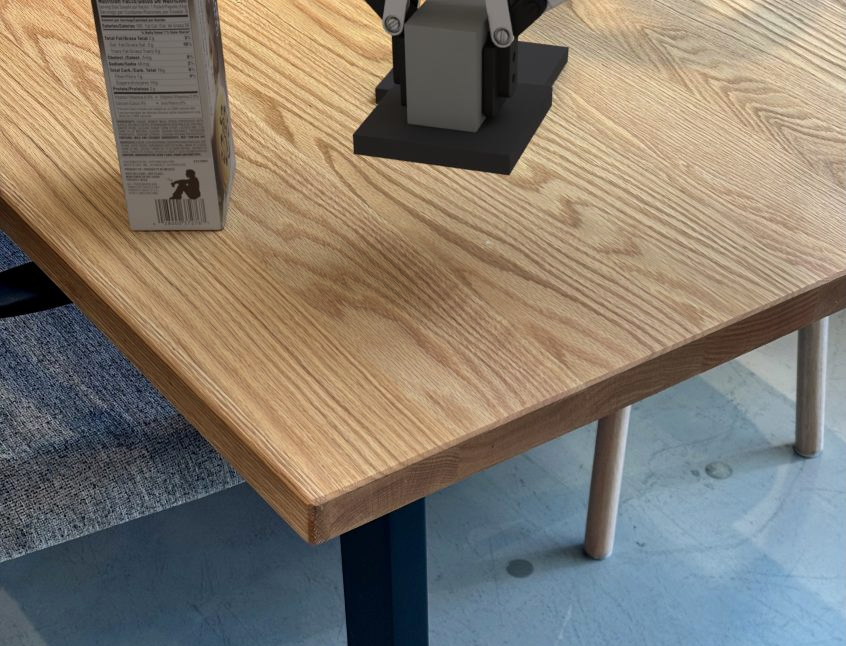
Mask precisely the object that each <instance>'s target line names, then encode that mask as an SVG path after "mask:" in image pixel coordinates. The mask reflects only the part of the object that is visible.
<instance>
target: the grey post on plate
mask: <svg viewBox="0 0 846 646" xmlns="http://www.w3.org/2000/svg"><path fill="white" fill-rule="evenodd" d="M489 31H490V28H489V22H488V17H487V11H486V5H485V0H424V2H423V3H421V4H420V7H419V9H418V10H417V11H416V12H415V13H414V14H413V15H412V16H411V18H410V19H409V20H408V21H407V22H406V23H405V24H404V33H405V62H406V92H407V107H404V106H402V105H401V93H400V85H399V84H394V85H393V87H392V88H391V89H390V90H389V91H388V93H387V94H386V95H385V96H384V97H383V99H382V100H381V101H380V102H379V103H377V105H375V106H374V107H373V109H372V111H371V112H370V113H369V114H368V115H367V116H366V117H365V119H364V120H363V121H362V122H361V124H360V125H359V126H358V127H357V128H356V130H354V132H353V134H352V146H353V147H352V149H353V155H356V156H364V157H371V158H379V159H386V160H392V161H393V160H394V161H399V162H400V161H401V162H409V163H414V164H415V163H416V164H421V165H428V166H429V165H430V166H437V167H445V168H451V169H457V170H458V169H459V170H464V171H472V172H481V173H487V174H494V175H502V176H510V175H511V173H512V172H513V171H514V169H515V168H516V166H517V164H518V162H519V160H520V159H521V158H522V155H523V154H524V152H526V151H525V150H526V149H527V148H528V145H529V144H530V142H531V141H532V139H533V137H534V136H535V135H536V133H537V131H538V130H539V127H540V126H541V124H542V123H543V122H544V119H545V118H546V116H547V115H548V113H549V112H550V110H551V108H552V106H553V93H554V91H553V89H554V87H553V86H552V87H551V86H543V85H534V84H526V83H517V87H516V91H515V93H514V95H513V97H512V98H507V99H506V101H505V102H504V104H503V105H502V107H501V108H500V110H499V111H498V113H497V114H496V116H495V117H494V118H491V117H485V116H484V114H482V50H483V47H484V46H485V44H486V43H487V42H488V40H489Z"/></svg>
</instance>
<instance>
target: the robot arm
mask: <svg viewBox="0 0 846 646" xmlns="http://www.w3.org/2000/svg"><path fill="white" fill-rule="evenodd" d="M364 1H365V3H366V4H367V5H368V6H369V7H370V8H371V10H372V11H373V12H374V14H376V16H378V18H380V20H381V21H382V22H381V24H382V25H381V26H382V29H383V30H384V32H385V33H387V34H388V35H390V36H391V57H392V68H393V80H394V83H395V84H399V85H400V93H401V105H402V106H404V107H407V92H406V62H405V33H404V24H405V23H406V22H407V21H408V20H409V19H410V18H411V16H412V15H413V14H414V13H415V12H416V11H417V10H418V9H419V7H420V6H421V4H422V3H421V1H422V0H364ZM567 1H568V0H485V5H486V11H487V17H488V22H489V28H490V31H489V40H488V42H487V43H486V44H485V46H484V47H483V50H482V114H484V116H485V117H491V118H494V117H495V116H496V114H497V113H498V111H499V110H500V108H501V107H502V105H503V104H504V102H505V101H506V99H507V98H512V97H513V95H514V93H515V91H516V87H517V72H518V41H519V37H520V35H522V34H523V33H524V32H525V31H526V30H527V29H528V28H530V27H531V26H532V25H533V24H534V23H535V22H536V21H537V20H539V18H540V17H542V15H543V14H545V13H547V12H549V11H550V10H553V9H555V8H557V7H558V6H561V5H562V4H564V3H566V2H567Z"/></svg>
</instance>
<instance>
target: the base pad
mask: <svg viewBox="0 0 846 646" xmlns="http://www.w3.org/2000/svg"><path fill="white" fill-rule="evenodd" d="M569 47H570V46H563V45H555V44H547V43H541V42H540V43H539V42H533V41H525V40H524V41H523V40H518V72H517V83H526V84H534V85H543V86H551V87H553V85H554V84H555V82H556V81H557V79H558V78H559V76H560V75H561V73H562V71H563V70H564V68H565V66H566V65H567V63H568V62H569V50H570V48H569ZM394 84H395V83H394V80H393V67H392V68H390V70H389V71H388V72H387V74H386V75H385V76H384V77H382V80H380V82H379V83H378V84H377V85H376V86H375V88H374V96H375V97H374V98H375V103H377V104H378V103H379V102H380V101H381V100H382V99H383V97H384V96H385V95H386V94H387V93H388V91H389V90H390V89H391V88H392V87H393V85H394Z"/></svg>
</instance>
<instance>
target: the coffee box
mask: <svg viewBox="0 0 846 646" xmlns="http://www.w3.org/2000/svg"><path fill="white" fill-rule="evenodd" d="M90 4H91V10H92V15H93V21H94V28H95V33H96V39H97V45H98V50H99V55H100V61H101V68H102V72H103V73H102V74H103V78H104V85H105V90H106V91H105V92H106V97H107V101H108V102H107V103H108V108H109V113H110V119H111V126H112V132H113V136H114V142H115V148H116V154H117V160H118V166H119V173H120V177H121V183H122V190H123V195H124V201H125V206H126V211H127V217H128V223H129V228H130V230H131V231H220V230H223V229H224V228H225V225H226V224H225V223H226V219H227V213H228V210H229V204H230V199H231V193H232V188H233V183H234V179H235V172H236V167H237V157H236V151H235V141H234V134H233V126H232V117H231V108H230V97H229V91H228V89H229V88H228V82H227V73H226V65H225V64H226V63H225V56H224V47H223V37H222V30H221V22H220V13H219V5H218V0H90Z"/></svg>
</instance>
